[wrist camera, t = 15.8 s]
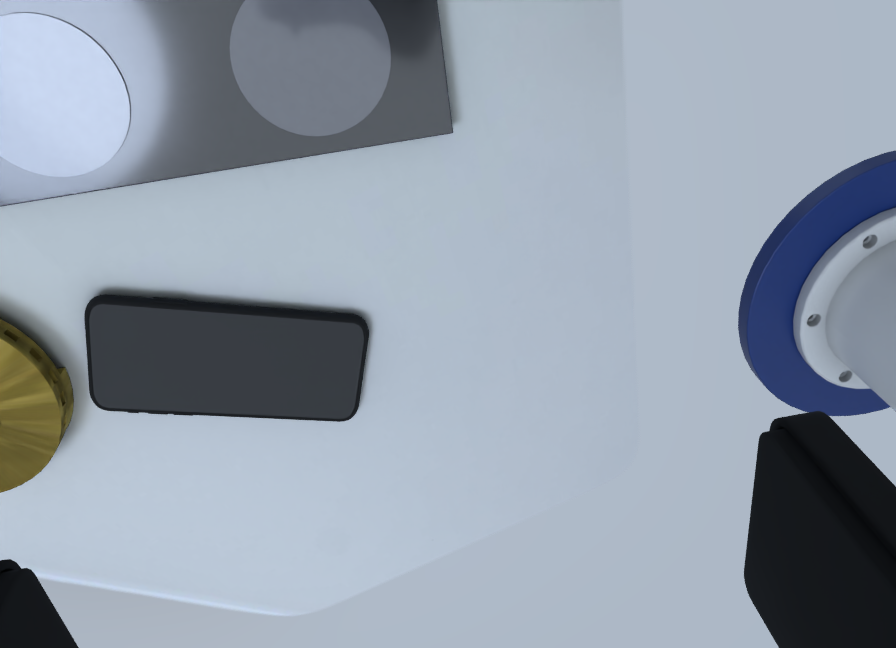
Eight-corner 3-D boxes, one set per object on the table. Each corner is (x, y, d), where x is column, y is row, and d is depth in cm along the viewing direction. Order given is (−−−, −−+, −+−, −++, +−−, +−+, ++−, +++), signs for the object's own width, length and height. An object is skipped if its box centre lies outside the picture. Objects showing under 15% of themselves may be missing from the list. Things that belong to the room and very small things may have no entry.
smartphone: (357, 425, 45) (89, 412, 42) (356, 416, 46) (93, 403, 43) (372, 318, 41) (80, 296, 38) (371, 310, 42) (85, 288, 39)
